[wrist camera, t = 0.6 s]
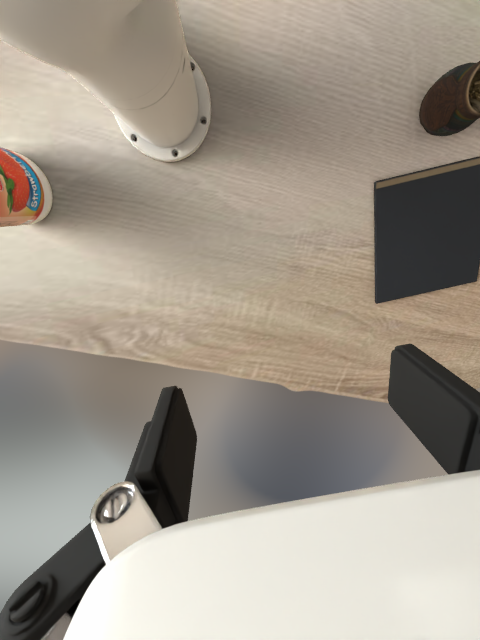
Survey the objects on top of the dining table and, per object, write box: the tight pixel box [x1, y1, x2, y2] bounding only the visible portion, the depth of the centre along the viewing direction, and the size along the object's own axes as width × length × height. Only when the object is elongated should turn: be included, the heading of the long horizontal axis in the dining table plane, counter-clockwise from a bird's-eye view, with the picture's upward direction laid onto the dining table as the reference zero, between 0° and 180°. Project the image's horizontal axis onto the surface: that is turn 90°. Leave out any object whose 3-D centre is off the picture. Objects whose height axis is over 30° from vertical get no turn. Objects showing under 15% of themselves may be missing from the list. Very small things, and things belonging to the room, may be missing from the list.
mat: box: [374, 157, 480, 303], centre depth 43 cm, size 20×18×1 cm
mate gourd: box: [419, 61, 480, 136], centre depth 32 cm, size 7×8×10 cm
